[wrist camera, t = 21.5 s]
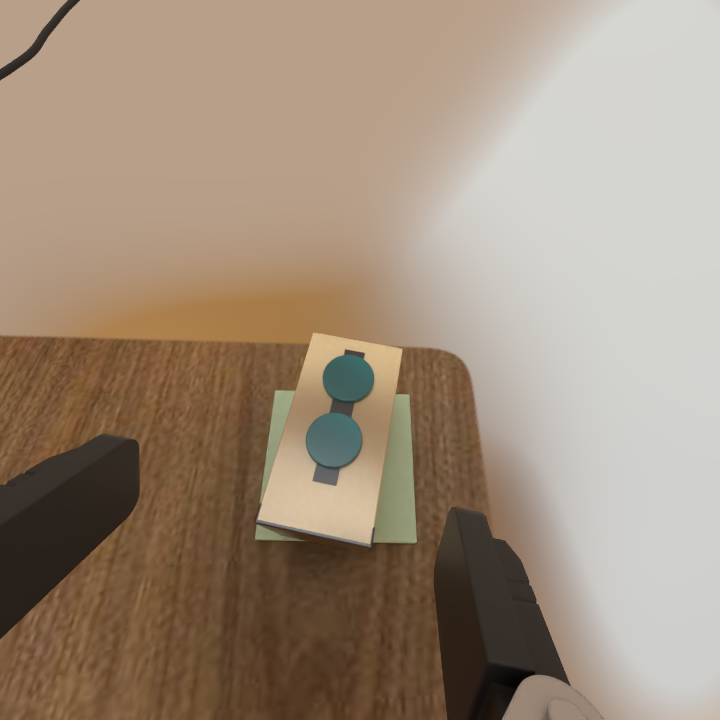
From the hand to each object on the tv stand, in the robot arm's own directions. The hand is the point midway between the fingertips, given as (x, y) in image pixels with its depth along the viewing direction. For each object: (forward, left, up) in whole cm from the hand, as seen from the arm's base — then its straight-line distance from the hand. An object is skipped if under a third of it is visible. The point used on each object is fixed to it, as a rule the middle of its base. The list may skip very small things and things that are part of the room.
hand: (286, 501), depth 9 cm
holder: (-4, 0, -13) cm, 14 cm away
